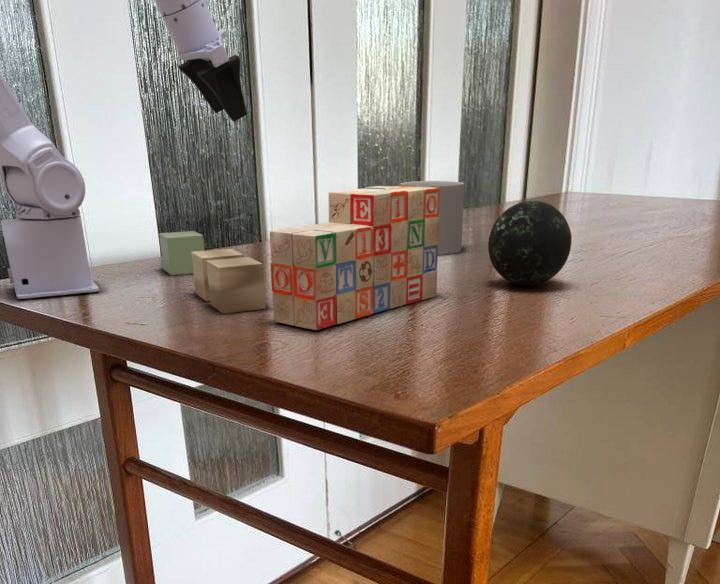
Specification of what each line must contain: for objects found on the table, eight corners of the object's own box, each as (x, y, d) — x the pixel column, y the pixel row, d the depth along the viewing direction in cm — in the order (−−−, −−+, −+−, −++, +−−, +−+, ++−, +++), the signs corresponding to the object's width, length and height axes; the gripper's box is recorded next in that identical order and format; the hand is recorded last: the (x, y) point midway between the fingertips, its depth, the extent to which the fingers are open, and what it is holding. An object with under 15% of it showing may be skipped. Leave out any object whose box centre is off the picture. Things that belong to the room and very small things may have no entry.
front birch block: (222, 313, 83) (218, 267, 81) (210, 304, 87) (206, 260, 85) (265, 309, 85) (262, 263, 83) (251, 300, 89) (248, 256, 87)
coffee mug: (442, 257, 115) (445, 186, 110) (387, 251, 120) (387, 184, 115) (481, 245, 125) (484, 180, 120) (428, 241, 130) (430, 178, 125)
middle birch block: (206, 301, 89) (201, 257, 86) (195, 293, 93) (191, 251, 90) (246, 297, 90) (243, 254, 88) (234, 289, 95) (231, 248, 92)
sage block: (171, 275, 104) (166, 237, 102) (163, 269, 108) (158, 233, 106) (206, 272, 106) (203, 235, 103) (197, 266, 110) (194, 230, 108)
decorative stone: (518, 296, 89) (525, 207, 85) (470, 282, 97) (474, 199, 93) (583, 288, 93) (594, 202, 89) (532, 274, 101) (539, 195, 97)
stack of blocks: (317, 332, 75) (312, 201, 70) (272, 323, 79) (265, 198, 73) (437, 295, 90) (441, 185, 85) (395, 289, 94) (396, 183, 88)
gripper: (227, -7, 90) (274, 107, 99) (193, -10, 100) (238, 93, 109) (176, 20, 89) (228, 133, 98) (147, 14, 100) (196, 116, 109)
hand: (230, 113), depth 104 cm, fingers open, 7 cm apart
